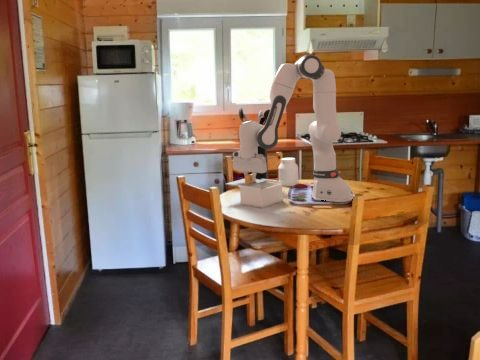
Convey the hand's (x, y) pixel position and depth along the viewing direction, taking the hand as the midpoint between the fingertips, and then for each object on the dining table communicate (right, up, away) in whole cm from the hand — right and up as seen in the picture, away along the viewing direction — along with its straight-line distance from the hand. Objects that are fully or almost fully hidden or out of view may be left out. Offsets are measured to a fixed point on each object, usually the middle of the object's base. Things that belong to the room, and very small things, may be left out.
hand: (250, 180), depth 242 cm
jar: (+23, -2, +37) cm, 44 cm away
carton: (+6, -11, -3) cm, 13 cm away
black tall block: (+7, -5, +30) cm, 31 cm away
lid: (-2, -2, +2) cm, 4 cm away
